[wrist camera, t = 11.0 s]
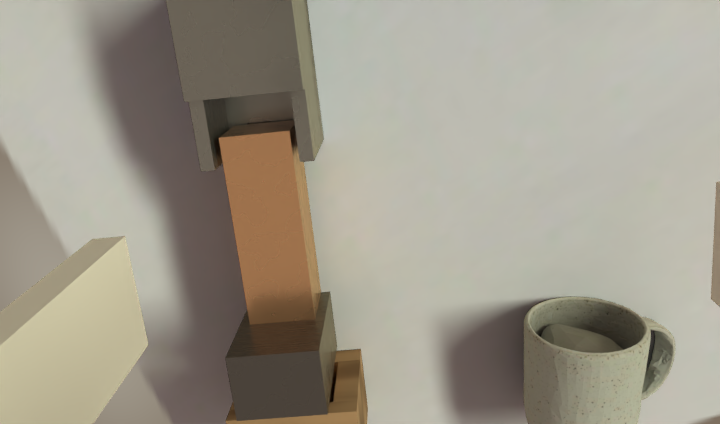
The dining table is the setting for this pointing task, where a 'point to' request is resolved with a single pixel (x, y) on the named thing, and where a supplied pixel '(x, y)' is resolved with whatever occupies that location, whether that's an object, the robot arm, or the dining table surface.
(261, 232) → the tan wooden post
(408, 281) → the dining table surface
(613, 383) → the ceramic mug
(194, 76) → the sleeve
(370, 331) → the dining table surface
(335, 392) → the socket
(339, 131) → the dining table surface
